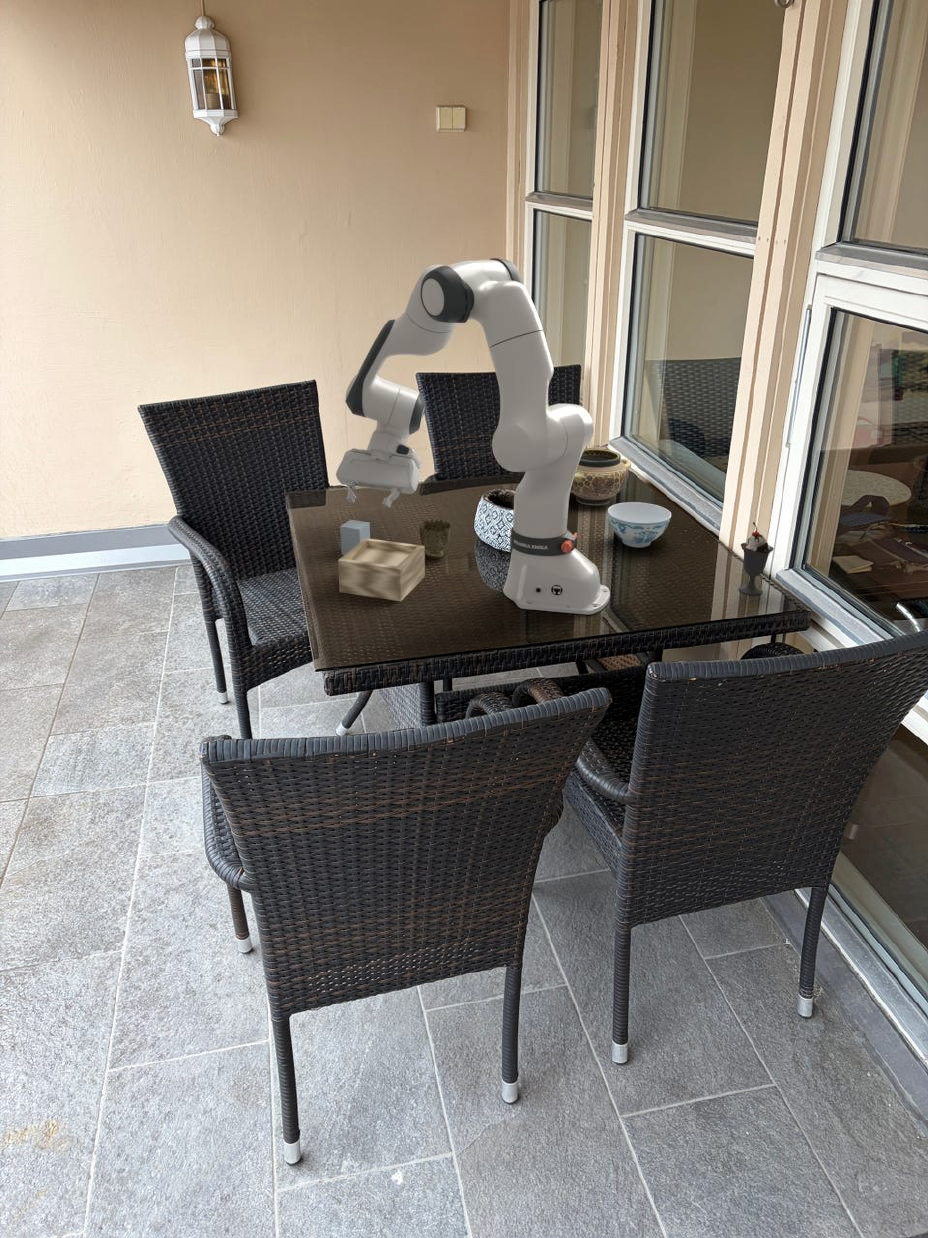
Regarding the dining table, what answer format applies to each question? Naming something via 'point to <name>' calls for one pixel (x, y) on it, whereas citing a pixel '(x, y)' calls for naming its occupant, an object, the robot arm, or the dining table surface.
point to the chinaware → (638, 522)
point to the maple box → (381, 569)
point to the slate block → (353, 534)
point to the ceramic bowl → (599, 476)
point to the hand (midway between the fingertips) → (367, 503)
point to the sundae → (754, 560)
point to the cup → (435, 537)
